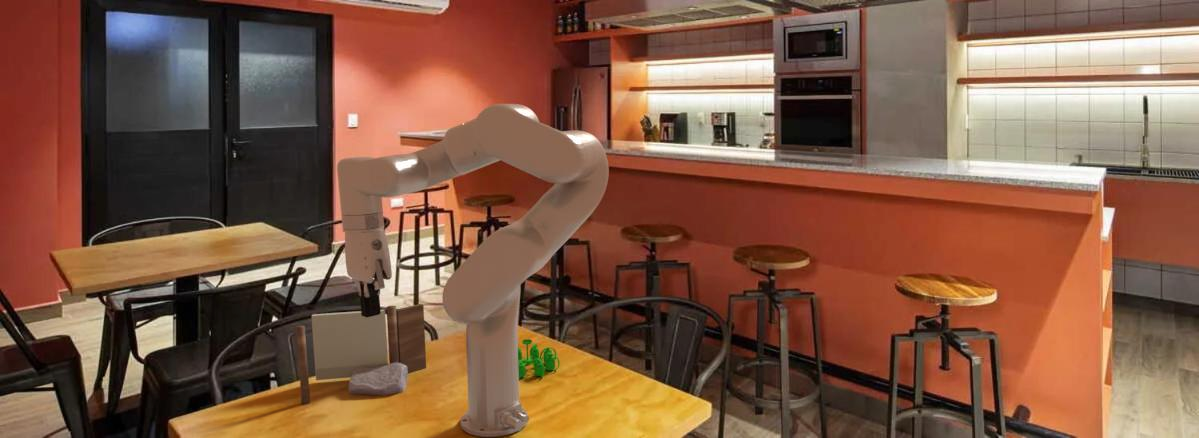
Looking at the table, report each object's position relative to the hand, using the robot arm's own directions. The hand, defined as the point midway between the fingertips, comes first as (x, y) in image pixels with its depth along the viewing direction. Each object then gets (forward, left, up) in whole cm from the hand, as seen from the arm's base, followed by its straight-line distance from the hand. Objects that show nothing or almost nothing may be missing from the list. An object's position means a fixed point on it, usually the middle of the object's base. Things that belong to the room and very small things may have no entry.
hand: (371, 315), depth 134 cm
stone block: (+10, -6, -20) cm, 23 cm away
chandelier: (-5, -35, -20) cm, 40 cm away
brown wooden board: (+13, -5, -19) cm, 24 cm away
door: (+18, -4, -19) cm, 26 cm away
